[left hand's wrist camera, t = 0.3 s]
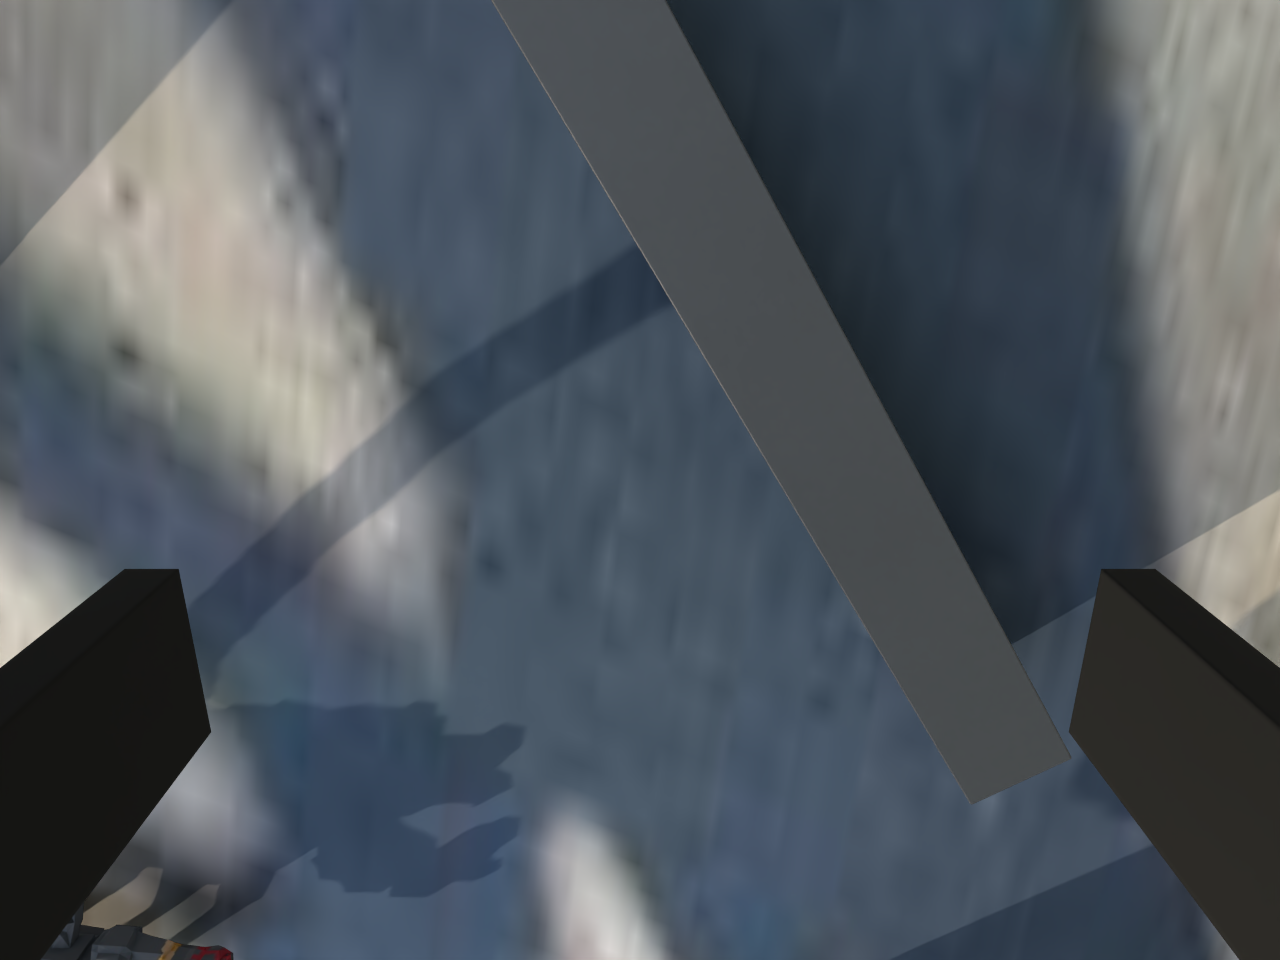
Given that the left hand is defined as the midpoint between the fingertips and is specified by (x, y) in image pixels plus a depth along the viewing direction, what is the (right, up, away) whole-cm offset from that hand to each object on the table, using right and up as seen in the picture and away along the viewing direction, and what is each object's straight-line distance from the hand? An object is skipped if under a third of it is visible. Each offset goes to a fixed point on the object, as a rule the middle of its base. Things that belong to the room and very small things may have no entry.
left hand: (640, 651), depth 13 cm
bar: (-6, +26, +19) cm, 32 cm away
